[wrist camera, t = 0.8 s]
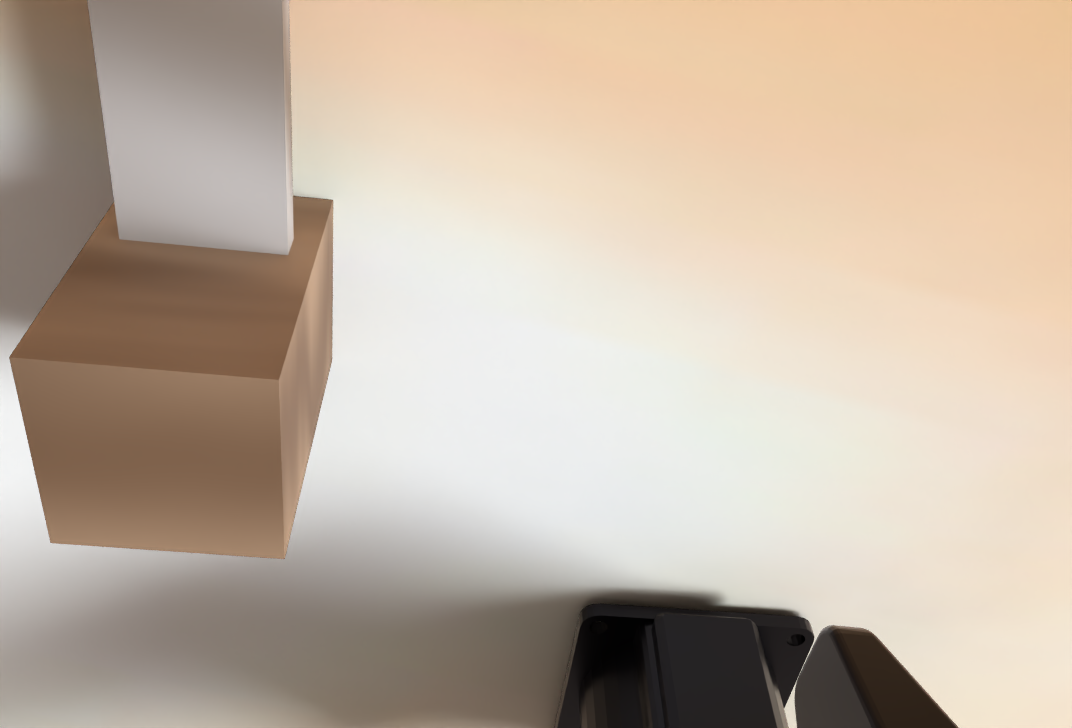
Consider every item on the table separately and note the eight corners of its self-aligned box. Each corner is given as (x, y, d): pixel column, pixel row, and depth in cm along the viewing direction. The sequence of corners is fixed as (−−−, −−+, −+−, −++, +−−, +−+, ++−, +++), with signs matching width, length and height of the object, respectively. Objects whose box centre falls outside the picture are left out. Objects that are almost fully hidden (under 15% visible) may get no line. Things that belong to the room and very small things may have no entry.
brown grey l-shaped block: (332, 359, 23) (285, 559, 18) (149, 343, 23) (50, 542, 18) (336, -261, 16) (260, -206, 11) (70, -299, 16) (-129, -258, 11)
